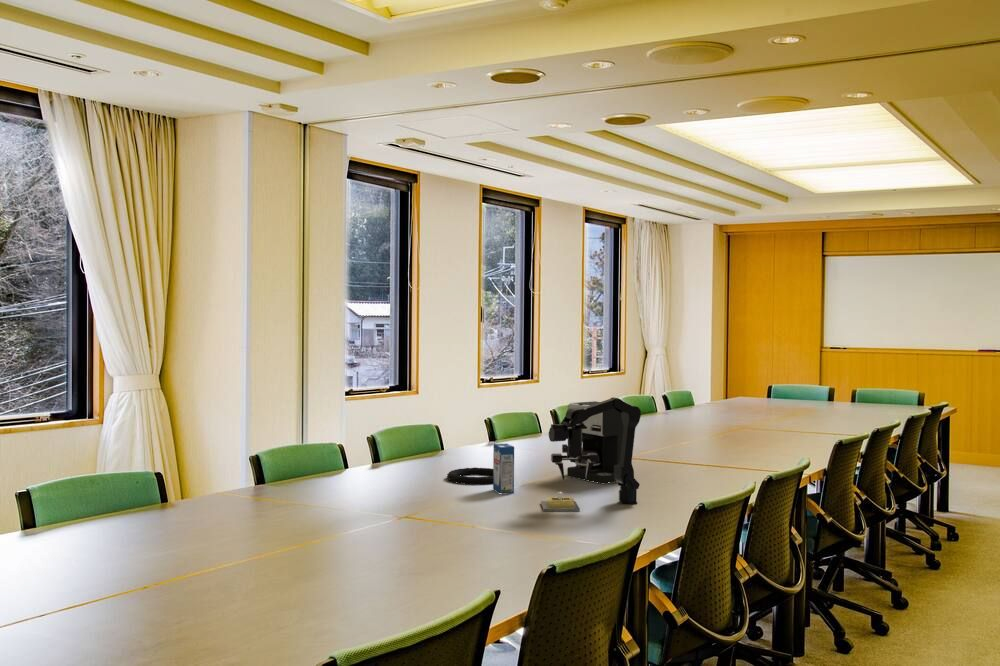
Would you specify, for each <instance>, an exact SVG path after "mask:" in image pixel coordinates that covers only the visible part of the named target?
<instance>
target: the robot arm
mask: <svg viewBox="0 0 1000 666" xmlns="http://www.w3.org/2000/svg"><path fill="white" fill-rule="evenodd" d="M598 402H599V403H596V404H593V405H590V406H587V407H577V408H570V409H568V408H567V411H566V413H565V416H564V418H563V419H562V421H561V422H560V424H556V423H552V424H550V428H549V430H548V439H549V441H550V442H552V443H553V442H565V441H567V444H561V452H562V453H551V454H550V461H551V463H554V464H555V466H556V465H557V466H558V469H559V471H560V475H561V478H562V480H565V472H564V471H565V469H564V463H563V461H570V460H588V461H587V467H586V479H587V478H588V476H589V473H590V470H591V468H592V467H593V465H594V464H596V462H599V456H598V455H597V454H596V453H588V454H587V455H582V429H587V427H586V426H585V425H584V423H582V422H584V421H586V420H587V419H588V418H589V417H591V416H594V415H597V414H600V413H602V412H605V411H608V410H611V409H616V410H617V411H618V412H620V413H621V419H622V422H623V426H624V429H623V438H622V447H621V456H620V462H619V464H618V465H614V473H613V475H614V478H615V480H616V481H617V482H616V483H617V485H618V486H619V490H618V501H619V502H620V504H624V505H629V504H631V505H637V504H638V501H637V494H638V493H637V491H638V490H639V489H640V483H639V482H638V481H637V479H636V478H635V470H634V466H633V454H634V447H635V446H634V442H635V435H636V428H637V427H638V424H639V423H640V420H641V416H642V410H641V409H640V407H639V406H635V405H632V404H629V403H627V402H625V401H623V400H622V399H620V398H618V397H610V398H608V399H605V400H602V401H598ZM569 422H570V423H569ZM576 424H579V425H576ZM563 453H564V454H566V455H562V454H563ZM570 457H572V458H570Z"/></svg>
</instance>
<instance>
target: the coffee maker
mask: <svg viewBox="0 0 1000 666" xmlns="http://www.w3.org/2000/svg"><path fill="white" fill-rule="evenodd" d="M599 402H600V401H595V400H593V401H581V402H569V404H568V405H567V410H568V409H570V408H577V407H587V406H590V405H593V404H596V403H599ZM569 423H570V422H569ZM582 423H584V425H585V426H586V427H587V429H582V455H587V454H588V453H596V454H597V455H598V456H599V462H596V464H594V465H593V467H592V468H591V470H590V473H589V476H588V478H587V479H586V467H587V461H588V460H569V462H570V463H573V464H575V466H569V467H567V468H566V469H567V470H566V471H567V474H566V475H567V477H568V476H570V477H569V478H573V477H575V478H574V479H577V478H580V479H579V480H581V479H585V480H584V481H586V480H589V481H588V482H590V481H594V482H598V483H597V484H599V483H608V482H614V481H616V480H615V478H614V475H613V473H614V465H618V464H619V462H620V456H621V447H622V438H623V429H624V426H623V422H622V419H621V413H620V412H618V411H617V410H616V409H611V410H608V411H605V412H602V413H600V414H597V415H594V416H591V417H589V418H588V419H587V420H586V421H584V422H582ZM576 425H579V424H576ZM570 458H572V457H570ZM594 482H593V483H594ZM614 483H615V482H614ZM608 484H609V483H608Z"/></svg>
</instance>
